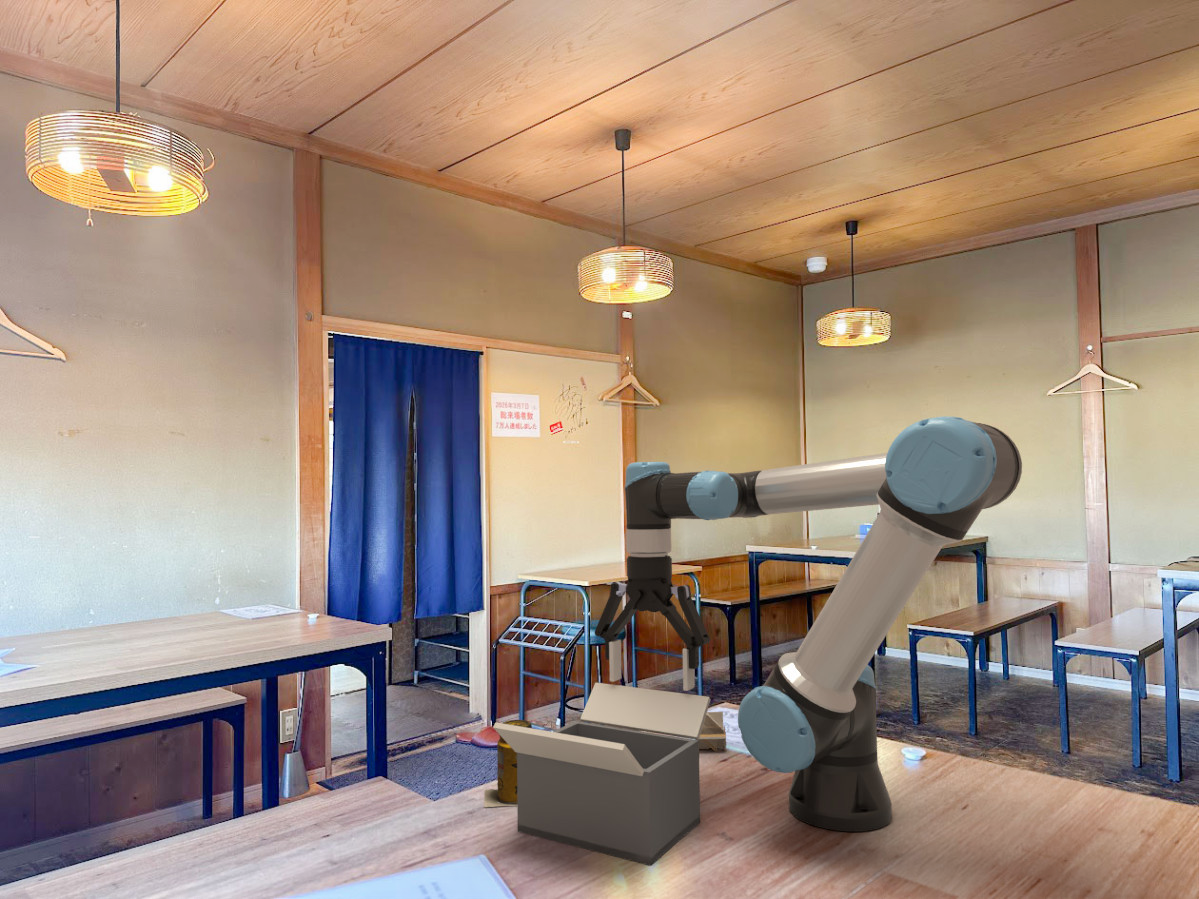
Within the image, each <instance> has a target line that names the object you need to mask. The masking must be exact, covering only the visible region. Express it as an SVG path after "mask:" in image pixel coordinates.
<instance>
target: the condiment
mask: <svg viewBox="0 0 1199 899" xmlns="http://www.w3.org/2000/svg"><path fill="white" fill-rule="evenodd" d="M502 723H503V724H509V725H514V726H520V727H526V728H532V729H533V726H532V723H531V722H530V721H528V720H526V719H525V720H524V719H510V720H506V721H504V722H502ZM498 734H499V733H498ZM496 747H497V749H496V751H497V754H496V755H497V763H496V764H497V767H496V769H497V773H496V776H497V779H496V782H497V786H496V787H497V789H494V788H493V789H492V788H489V789H484V806H483V807H484V808H491V807H492V808H495V807H517V752H515V751H514V750H513V749H512V748H511V747H510V746H509V744H508V743H507V742H506V741H505V740H504V739H503V738H502V737H501V736H500V734H499V739H498V740H497V745H496ZM498 802H499V803H498Z"/></svg>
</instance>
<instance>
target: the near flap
mask: <svg viewBox="0 0 1199 899" xmlns="http://www.w3.org/2000/svg"><path fill="white" fill-rule="evenodd" d="M493 729H494V731H496V733H498V734H500V736H501V737H502V738H503V739H504V740H505V741H506V742H507V743H508V744H509V746H510V747H511V748H512V749H513V750H514V751H515V752H517V753H523V754H528V755H533V756H538V757H544V758H549V759H554V760H559V761H564V762H570V763H575V764H580V765H585V766H591V767H596V768H601V769H606V770H611V771H617V772H622V773H627V774H632V775H637V776H643V773H644V770H643V768H642V767H641V766H640V764H639V763H638V762H637V760H636V759H635V758H634V756H633V755H632V753H631V752H630V751H629V749H628V748H627V747H626V745H625V744H620V743H615V742H609V741H603V740H597V739H591V738H585V737H579V736H573V735H567V734H562V733H556V732H553V731H550V730H549V731H548V730H544V729H538V728H533V727H532V728H526V727H520V726H514V725H509V724H503V722H502V723H501V722H495V723H494V725H493ZM500 736H499V737H500Z"/></svg>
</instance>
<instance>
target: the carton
mask: <svg viewBox="0 0 1199 899" xmlns="http://www.w3.org/2000/svg"><path fill="white" fill-rule="evenodd" d="M552 732H556V733H562V734H567V735H573V736H579V737H585V738H591V739H597V740H603V741H609V742H615V743H620V744H625V745H626V747H627V748H628V749H629V751H630V752H631V753H632V755H633V756H634V758H635V759H636V760H637V762H638V763H639V764H640V766H641V767H642V768H643V770H644V773H643V776H637V775H632V774H627V773H622V772H617V771H611V770H606V769H601V768H596V767H591V766H585V765H580V764H575V763H570V762H564V761H559V760H554V759H549V758H544V757H538V756H533V755H528V754H523V753H517V806H516V807H517V808H516V809H517V832H519V833H523V834H527V835H530V836H534V835H535V836H534V837H538V838H542V839H545V840H546V839H547V840H550V841H553V842H557V843H562V844H565V845H570V846H574V847H576V848H581V849H584V850H588V851H593V852H596V853H601V854H604V855H608V856H611V857H612V856H613V857H616V858H618V859H619V858H621V859H624V860H627V861H628V860H629V861H631V862H635V863H639V864H642V865H643V864H644V865H647V866H652V865H653V864H654V863H656V862H657V861H658V860H660V859H661V858H662V857H663V856H664V855H665V854H666V853H668V852H669V850H670V849H672V848H673V847H674V846H676V844H677V843H678V842H680V841H681V840H682V839H683V838H685V837H686V836H687V835H688V834H689V833H690V832H691V831H693V829H695V828H696V827H698V826H699V824H700V823H701V795H700V793H701V791H700V790H701V786H700V785H701V784H700V782H701V780H700V749H699V740H695V739H689V738H683V737H677V736H670V735H664V734H658V733H651V732H645V731H639V730H632V729H626V728H620V727H613V726H607V725H601V724H594V723H588V722H582V721H579V720H576V721H573V722H571V723H569V724H566V725H565V726H562V727H560V728H558V729H555V730H552Z"/></svg>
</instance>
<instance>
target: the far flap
mask: <svg viewBox="0 0 1199 899" xmlns="http://www.w3.org/2000/svg"><path fill="white" fill-rule="evenodd" d="M711 700H712V699H711V698H710V696H707V695H706V696H705V695H698V694H691V693H682V692H674V691H667V690H665V691H664V690H660V689H659V690H658V689H651V688H641V687H635V686H628V685H627V686H625V685H618V684H610V683H603V682H595V683H594V685H593V688H592V690H591V693H590V695H589V697H588V700H587V701H586V704H585V707H584V709H583V710H582V714H581V716H580V718H579V719H580V722H585V723H591V724H598V725H604V726H610V727H617V728H623V729H629V730H636V731H642V732H648V733H655V734H661V735H667V736H674V737H680V738H686V739H692V740H695V739H696V740H699V737H700V733H701V730H702V727H703V724H704V720H705V717H706V714H707V712H708V710H709V707H710V704H711Z"/></svg>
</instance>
